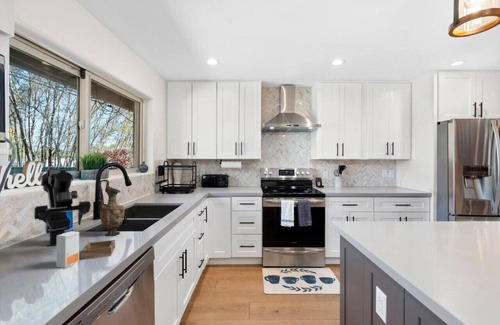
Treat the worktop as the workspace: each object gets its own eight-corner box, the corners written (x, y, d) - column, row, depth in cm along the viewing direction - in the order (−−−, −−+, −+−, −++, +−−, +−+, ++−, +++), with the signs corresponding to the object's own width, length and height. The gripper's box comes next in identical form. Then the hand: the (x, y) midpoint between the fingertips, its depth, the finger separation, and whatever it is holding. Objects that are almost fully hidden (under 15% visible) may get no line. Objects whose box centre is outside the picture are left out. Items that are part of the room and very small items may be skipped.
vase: (121, 236, 127) (120, 179, 126) (94, 238, 124) (94, 180, 124) (127, 230, 138) (126, 178, 138) (103, 231, 135) (102, 178, 135)
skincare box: (65, 268, 90) (65, 236, 90) (56, 267, 91) (55, 235, 91) (79, 261, 96) (79, 231, 96) (71, 260, 97) (70, 230, 97)
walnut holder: (88, 250, 107) (88, 242, 107) (115, 247, 111) (115, 239, 111) (81, 259, 97) (81, 251, 97) (111, 255, 101) (110, 247, 101)
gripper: (34, 186, 95) (36, 219, 88) (89, 183, 109) (95, 211, 101) (33, 203, 101) (35, 235, 94) (86, 198, 114) (91, 226, 107)
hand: (66, 226), depth 99 cm, fingers open, 9 cm apart
